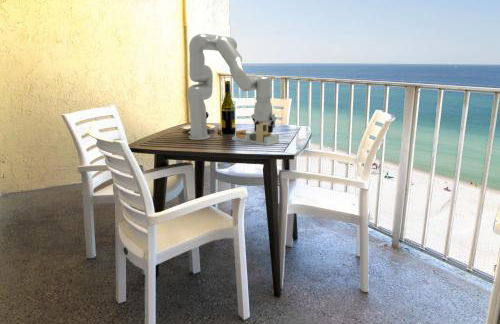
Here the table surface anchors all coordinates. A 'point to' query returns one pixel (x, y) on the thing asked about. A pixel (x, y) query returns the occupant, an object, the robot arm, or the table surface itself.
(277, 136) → the vise
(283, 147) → the table surface
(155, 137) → the table surface
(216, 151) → the table surface
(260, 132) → the brass block
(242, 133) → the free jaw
